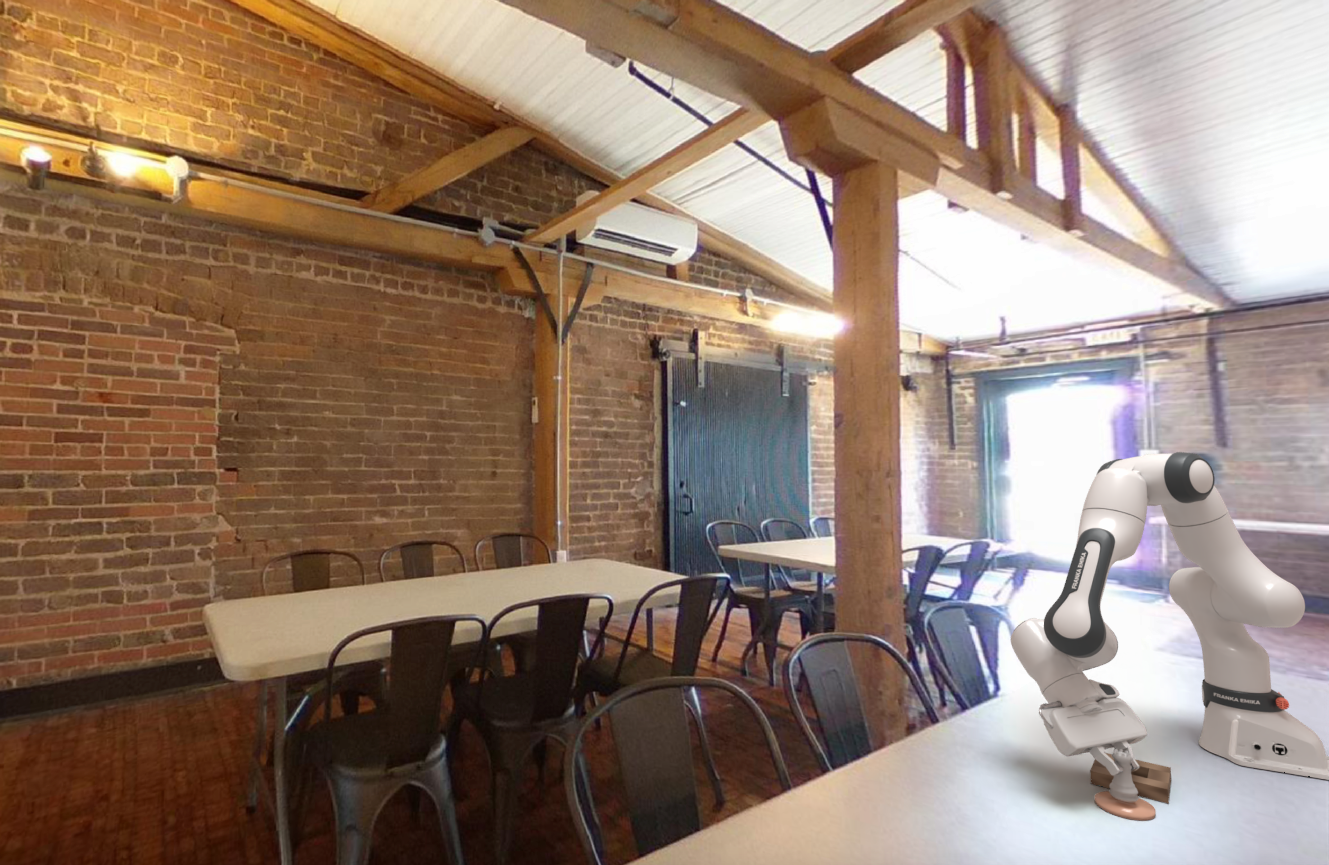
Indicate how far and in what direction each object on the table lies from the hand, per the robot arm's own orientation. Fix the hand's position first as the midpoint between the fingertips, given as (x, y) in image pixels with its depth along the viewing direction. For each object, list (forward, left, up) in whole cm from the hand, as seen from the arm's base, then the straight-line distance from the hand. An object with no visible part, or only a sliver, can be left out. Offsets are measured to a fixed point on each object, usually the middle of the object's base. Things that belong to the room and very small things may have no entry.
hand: (1126, 771), depth 118 cm
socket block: (+1, -13, -6) cm, 15 cm away
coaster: (+1, 0, -6) cm, 6 cm away
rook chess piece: (+1, 0, -5) cm, 5 cm away
